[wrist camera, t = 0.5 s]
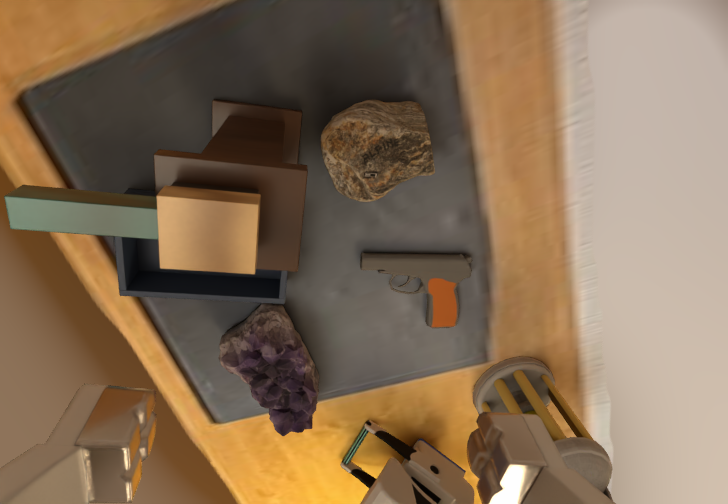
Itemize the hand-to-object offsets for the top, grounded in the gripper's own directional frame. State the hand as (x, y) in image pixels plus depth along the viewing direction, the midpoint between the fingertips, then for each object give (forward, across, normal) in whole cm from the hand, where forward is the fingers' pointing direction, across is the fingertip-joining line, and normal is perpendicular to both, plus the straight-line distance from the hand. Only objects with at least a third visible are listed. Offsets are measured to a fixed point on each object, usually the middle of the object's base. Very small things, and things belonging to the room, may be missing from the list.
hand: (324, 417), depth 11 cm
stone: (+48, -8, +5) cm, 49 cm away
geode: (+46, 0, +38) cm, 60 cm away
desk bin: (+46, +10, +20) cm, 52 cm away
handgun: (+47, -18, +25) cm, 56 cm away
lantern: (+47, -40, +43) cm, 75 cm away
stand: (+47, +6, +7) cm, 48 cm away
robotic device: (+45, -24, +58) cm, 78 cm away
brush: (+22, +11, +6) cm, 25 cm away
